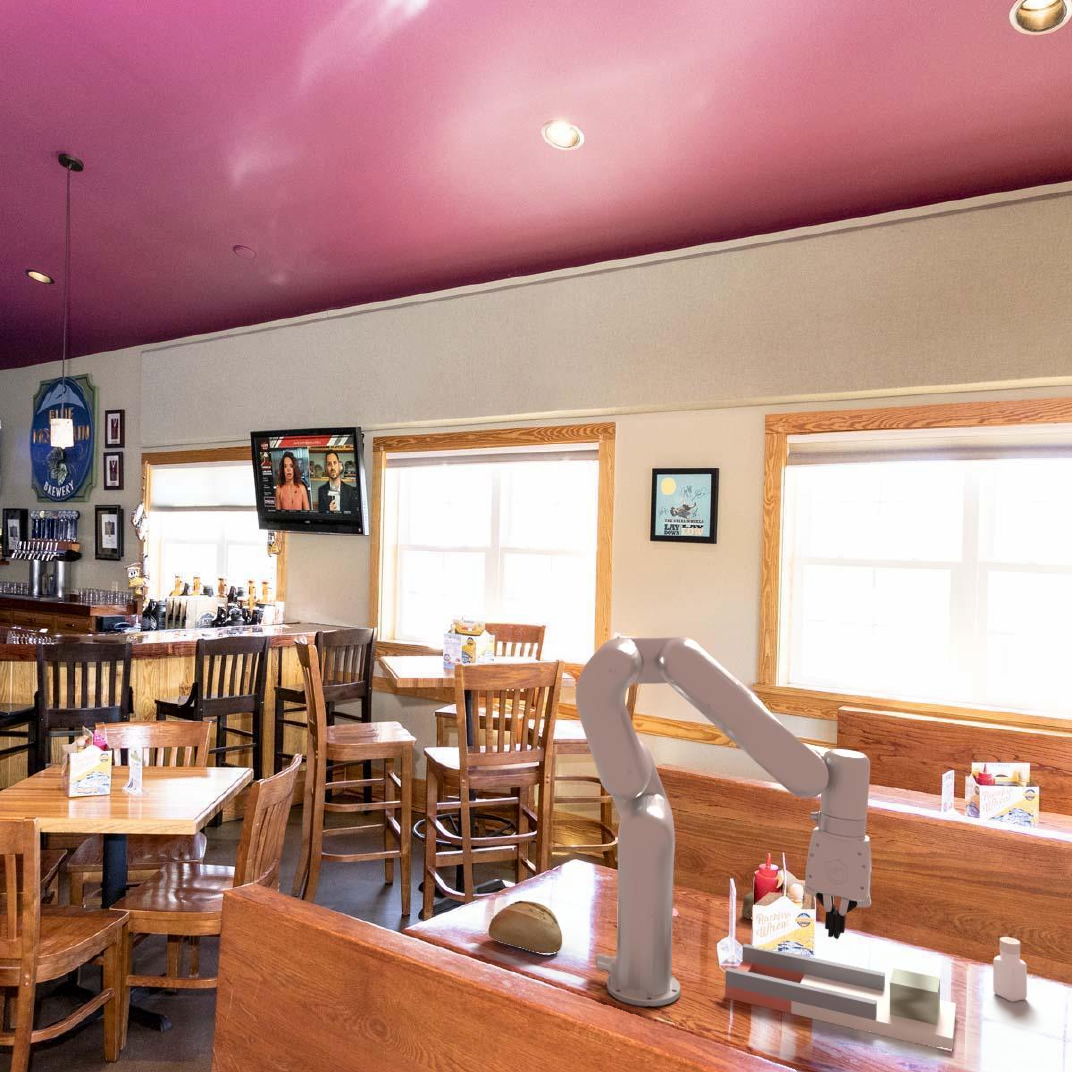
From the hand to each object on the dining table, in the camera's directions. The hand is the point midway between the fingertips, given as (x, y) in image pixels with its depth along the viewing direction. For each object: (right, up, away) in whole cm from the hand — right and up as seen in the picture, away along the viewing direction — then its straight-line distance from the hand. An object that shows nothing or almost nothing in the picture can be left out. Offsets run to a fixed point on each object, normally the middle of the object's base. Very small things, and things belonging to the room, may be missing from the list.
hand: (834, 935), depth 151 cm
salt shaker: (+32, -13, +5) cm, 35 cm away
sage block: (+11, -10, -6) cm, 16 cm away
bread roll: (-52, -12, +21) cm, 57 cm away
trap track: (+1, -12, 0) cm, 12 cm away
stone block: (-1, -14, +37) cm, 39 cm away
